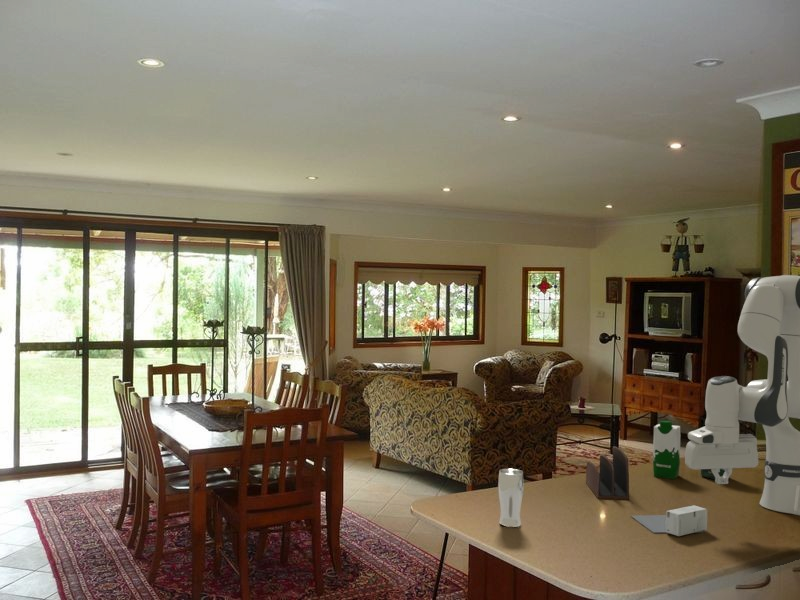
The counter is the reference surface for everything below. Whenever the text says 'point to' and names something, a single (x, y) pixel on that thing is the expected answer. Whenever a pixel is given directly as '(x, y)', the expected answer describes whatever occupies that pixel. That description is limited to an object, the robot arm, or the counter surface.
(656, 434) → the milk carton
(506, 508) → the beer glass
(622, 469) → the letter holder
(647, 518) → the slate mat
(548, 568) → the counter surface
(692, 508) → the skincare box
